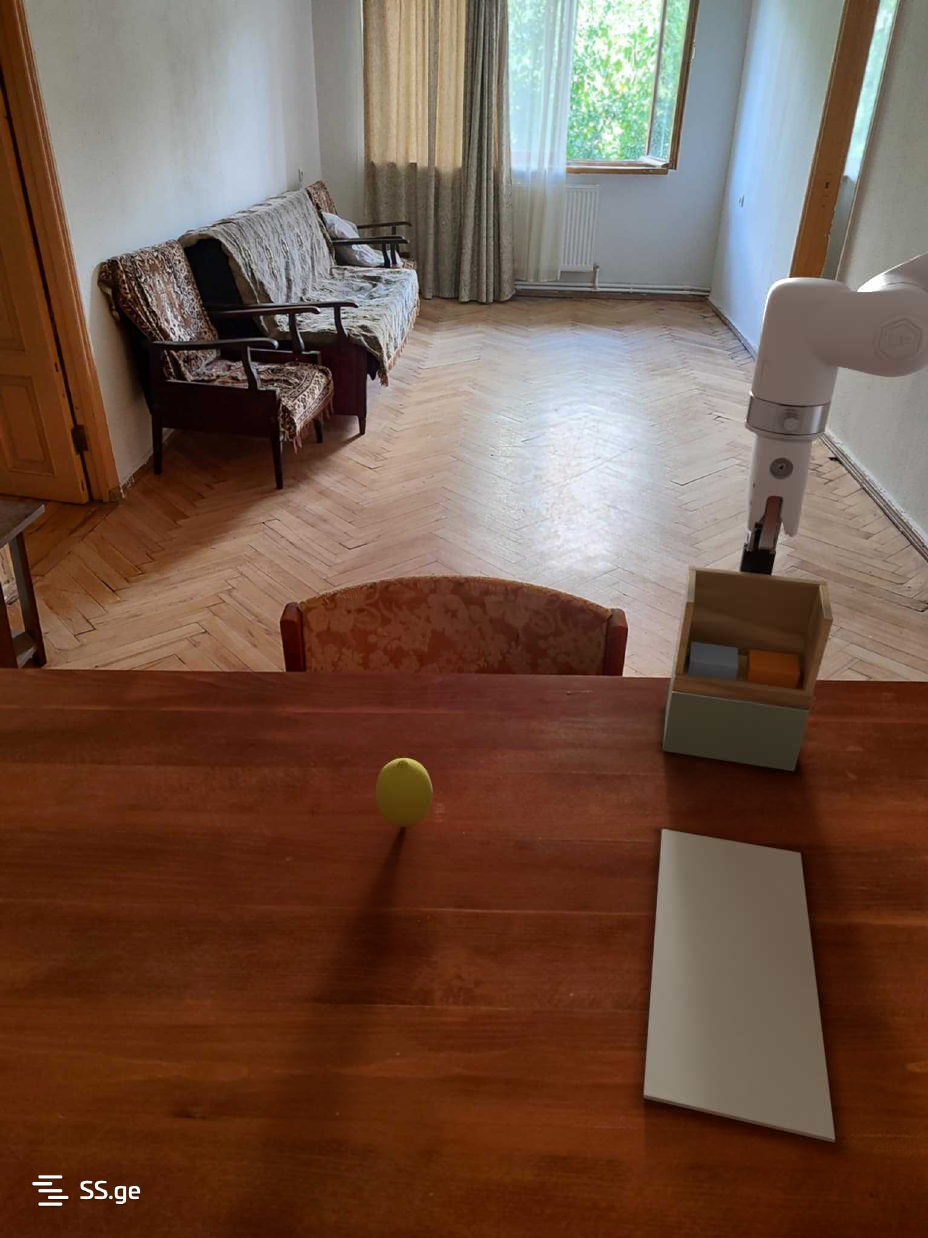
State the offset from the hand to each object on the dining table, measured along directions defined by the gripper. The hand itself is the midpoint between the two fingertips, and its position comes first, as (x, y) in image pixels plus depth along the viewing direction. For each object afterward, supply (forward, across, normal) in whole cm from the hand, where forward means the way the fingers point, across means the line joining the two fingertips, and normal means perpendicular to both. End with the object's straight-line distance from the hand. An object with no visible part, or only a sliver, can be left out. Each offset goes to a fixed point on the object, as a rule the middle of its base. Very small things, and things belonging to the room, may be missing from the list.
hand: (753, 580), depth 95 cm
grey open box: (+18, -5, 0) cm, 19 cm away
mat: (+18, -36, 0) cm, 40 cm away
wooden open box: (+10, -5, 0) cm, 11 cm away
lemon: (+18, -28, +31) cm, 45 cm away
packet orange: (+9, -5, -3) cm, 10 cm away
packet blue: (+9, -5, +3) cm, 10 cm away
